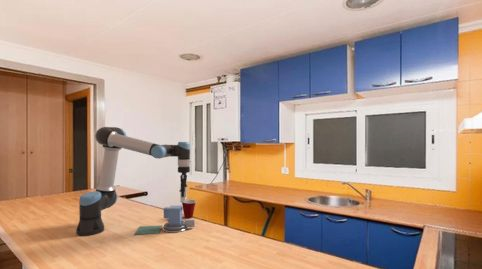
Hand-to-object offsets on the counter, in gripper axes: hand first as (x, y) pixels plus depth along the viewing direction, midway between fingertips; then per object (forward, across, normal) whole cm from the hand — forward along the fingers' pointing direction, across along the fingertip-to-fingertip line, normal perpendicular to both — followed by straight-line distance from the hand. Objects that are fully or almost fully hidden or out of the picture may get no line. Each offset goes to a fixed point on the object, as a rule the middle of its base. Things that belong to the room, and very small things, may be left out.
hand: (183, 199), depth 175 cm
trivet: (+18, -2, +21) cm, 28 cm away
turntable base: (+18, -1, +5) cm, 19 cm away
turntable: (+17, -1, +2) cm, 17 cm away
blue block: (+15, -1, +6) cm, 16 cm away
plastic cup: (+18, +23, -3) cm, 29 cm away
